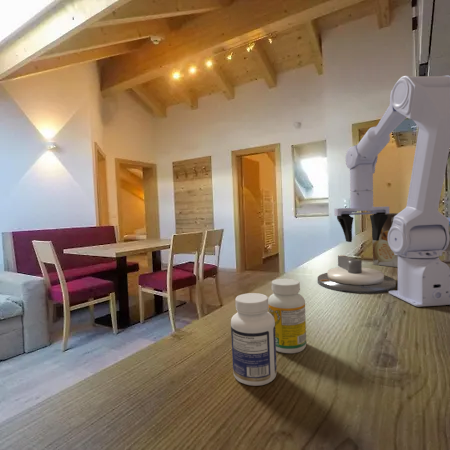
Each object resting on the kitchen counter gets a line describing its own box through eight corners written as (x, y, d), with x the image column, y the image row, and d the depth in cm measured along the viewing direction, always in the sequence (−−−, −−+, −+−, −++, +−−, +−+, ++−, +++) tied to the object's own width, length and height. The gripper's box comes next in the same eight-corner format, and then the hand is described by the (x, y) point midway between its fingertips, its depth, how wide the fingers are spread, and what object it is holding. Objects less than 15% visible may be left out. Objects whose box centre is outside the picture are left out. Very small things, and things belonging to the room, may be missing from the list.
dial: (395, 283, 72) (395, 263, 72) (340, 286, 72) (340, 266, 71) (363, 270, 87) (363, 253, 86) (318, 272, 86) (317, 256, 86)
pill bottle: (249, 359, 42) (246, 288, 42) (284, 371, 39) (282, 295, 38) (224, 377, 38) (220, 299, 38) (261, 393, 35) (258, 307, 34)
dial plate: (413, 290, 70) (413, 285, 70) (334, 295, 69) (334, 290, 69) (370, 272, 88) (370, 268, 88) (308, 276, 87) (307, 272, 87)
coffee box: (411, 264, 96) (411, 212, 95) (402, 268, 92) (402, 213, 91) (380, 261, 103) (380, 212, 102) (371, 264, 99) (371, 214, 98)
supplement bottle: (310, 353, 43) (308, 285, 43) (271, 355, 43) (269, 287, 43) (301, 337, 49) (299, 276, 48) (266, 338, 49) (264, 277, 48)
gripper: (379, 191, 90) (379, 238, 90) (329, 193, 89) (330, 240, 90) (393, 189, 83) (394, 240, 83) (340, 191, 82) (341, 243, 83)
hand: (362, 240), depth 86 cm, fingers open, 7 cm apart
